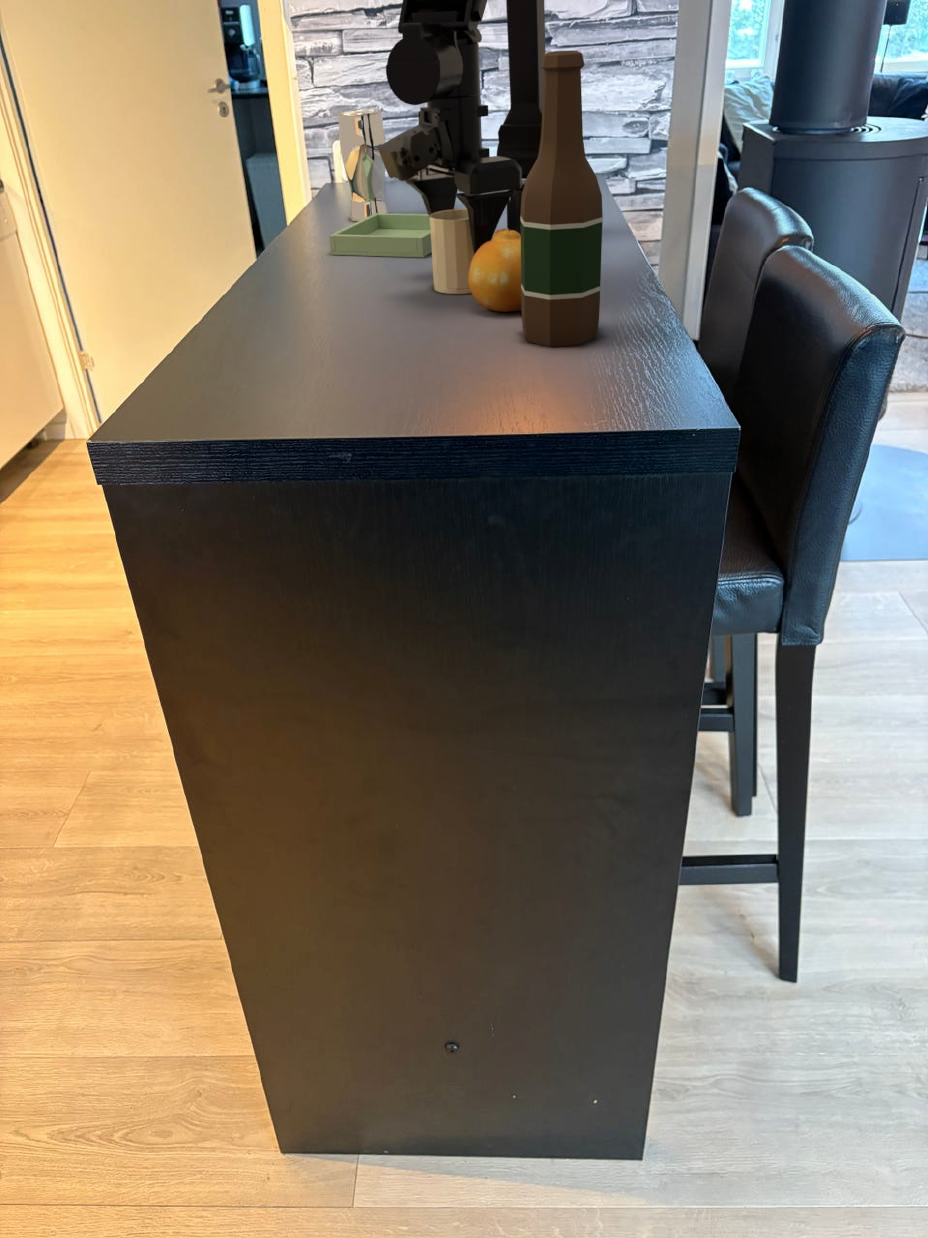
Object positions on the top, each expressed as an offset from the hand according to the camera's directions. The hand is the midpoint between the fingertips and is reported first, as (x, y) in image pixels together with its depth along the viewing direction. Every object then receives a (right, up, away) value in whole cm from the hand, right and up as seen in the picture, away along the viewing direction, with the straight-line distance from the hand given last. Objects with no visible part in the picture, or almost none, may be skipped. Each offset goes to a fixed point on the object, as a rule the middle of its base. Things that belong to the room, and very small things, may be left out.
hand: (460, 250), depth 107 cm
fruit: (+5, -9, -6) cm, 12 cm away
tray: (-9, +10, +24) cm, 28 cm away
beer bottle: (+10, -15, -15) cm, 23 cm away
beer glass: (-15, +21, +41) cm, 48 cm away
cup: (0, -3, +2) cm, 4 cm away
